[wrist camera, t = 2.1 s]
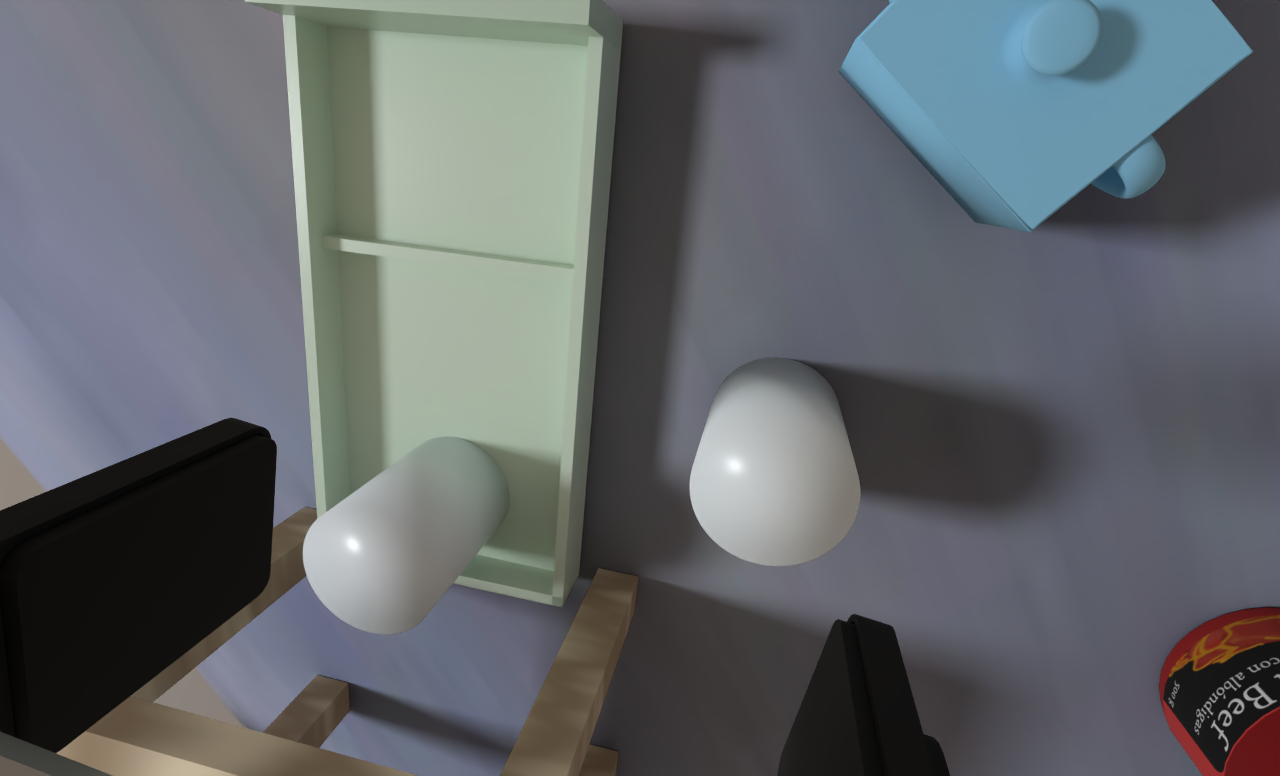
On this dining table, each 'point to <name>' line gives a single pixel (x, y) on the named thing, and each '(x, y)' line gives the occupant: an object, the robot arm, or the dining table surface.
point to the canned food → (1227, 693)
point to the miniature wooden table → (289, 748)
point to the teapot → (1038, 93)
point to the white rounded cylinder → (406, 535)
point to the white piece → (775, 465)
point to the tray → (456, 248)
